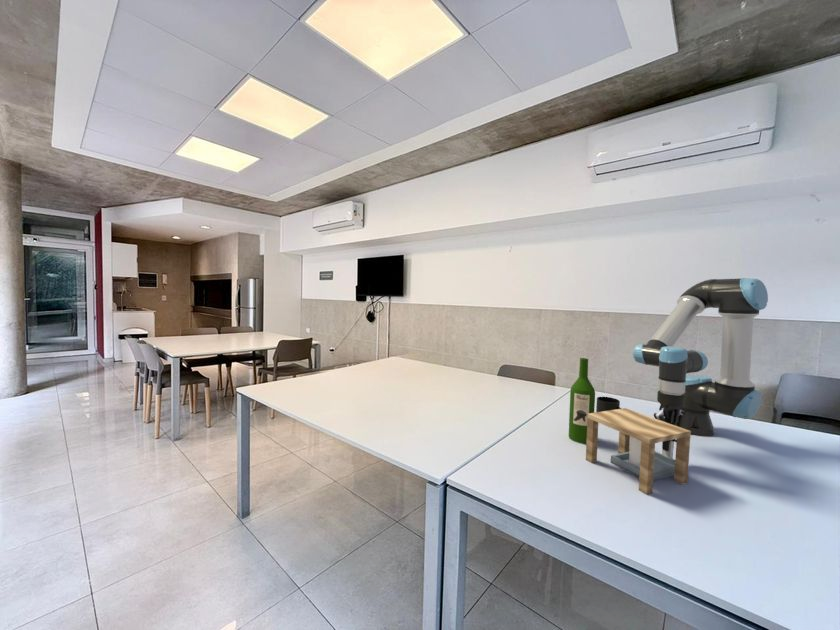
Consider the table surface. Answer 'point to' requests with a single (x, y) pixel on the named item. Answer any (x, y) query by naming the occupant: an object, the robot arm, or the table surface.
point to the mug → (607, 404)
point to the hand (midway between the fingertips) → (667, 458)
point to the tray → (661, 465)
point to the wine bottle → (581, 404)
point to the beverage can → (635, 452)
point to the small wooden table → (648, 434)
